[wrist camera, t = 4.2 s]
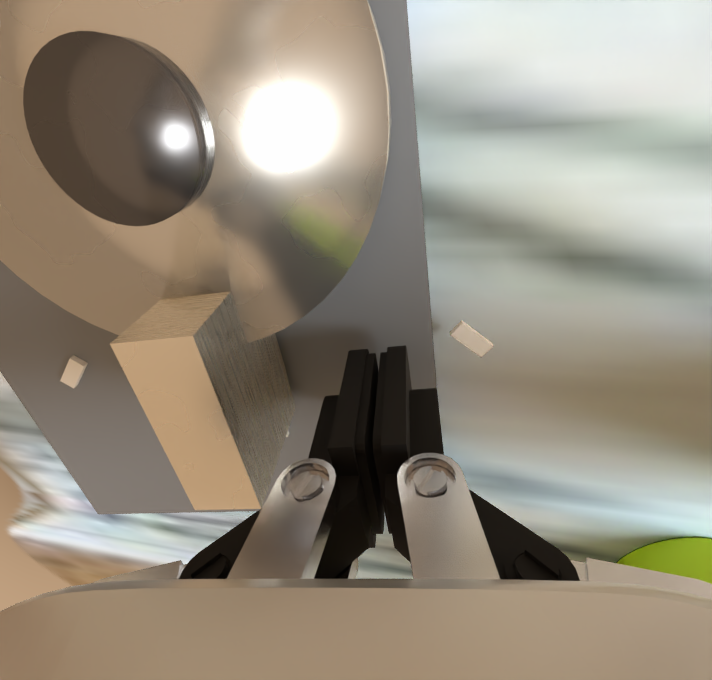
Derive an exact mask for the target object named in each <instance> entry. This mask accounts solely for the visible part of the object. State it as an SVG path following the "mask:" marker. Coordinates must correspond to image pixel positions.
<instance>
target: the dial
mask: <svg viewBox="0 0 712 680" xmlns="http://www.w3.org/2000/svg"><path fill="white" fill-rule="evenodd" d="M391 124H392V119H391V96H390V85H389V78H388V72H387V66H386V60H385V53H384V50H383V46H382V43H381V39H380V36H379V32H378V28H377V25H376V21H375V18H374V15H373V13H372V10H371V8H370V5H369V3H368V0H0V261H1V262H3V263H4V264H5V265H6V266H7V267H8V268H9V269H10V270H11V271H12V272H14V273H15V274H16V275H17V276H18V277H19V278H21V279H22V280H23V281H25V282H26V283H27V284H28V285H30V286H31V287H32V288H34V289H35V290H36V291H37V292H39V293H40V294H41V295H43V296H44V297H46V298H47V299H49V300H51V301H52V302H54V303H55V304H57V305H58V306H60V307H61V308H63V309H64V310H66V311H68V312H70V313H72V314H73V315H75V316H77V317H79V318H81V319H83V320H85V321H87V322H89V323H91V324H93V325H95V326H97V327H100V328H102V329H105V330H107V331H109V332H112V333H114V334H117V335H119V336H118V337H117V338H116V339H115V340H113V341H112V342H111V343H110V346H111V347H112V349H113V351H114V353H115V355H116V357H117V359H118V361H119V363H120V365H121V367H122V369H123V371H124V373H125V375H126V377H127V379H128V381H129V383H130V385H131V387H132V388H133V390H134V392H135V394H136V396H137V398H138V400H139V402H140V404H141V406H142V408H143V410H144V412H145V414H146V416H147V418H148V420H149V422H150V424H151V426H152V428H153V430H154V431H155V433H156V435H157V437H158V439H159V441H160V443H161V445H162V447H163V449H164V451H165V453H166V455H167V457H168V459H169V461H170V463H171V465H172V467H173V469H174V471H175V472H176V474H177V476H178V478H179V480H180V482H181V484H182V486H183V488H184V490H185V492H186V494H187V496H188V498H189V500H190V502H191V504H192V506H193V508H194V510H227V509H261V508H262V505H263V502H264V499H265V496H266V493H267V490H268V487H269V485H270V482H271V479H272V476H273V473H274V470H275V467H276V464H277V461H278V458H279V455H280V452H281V449H282V447H283V444H284V441H285V438H286V435H287V432H288V429H289V426H290V423H291V420H292V417H293V414H294V411H295V409H296V404H295V400H294V397H293V393H292V390H291V386H290V383H289V379H288V376H287V372H286V369H285V365H284V362H283V358H282V355H281V351H280V348H279V344H278V341H277V337H276V334H275V333H276V332H278V331H280V330H283V329H285V328H286V327H288V326H289V325H291V324H293V323H294V322H296V321H298V320H299V319H301V318H302V317H304V316H305V315H306V314H308V313H309V312H310V311H311V310H312V309H314V308H315V307H316V306H317V305H318V304H320V303H321V302H322V301H323V300H324V299H325V298H326V297H327V296H328V295H329V293H330V292H331V291H332V290H333V289H334V288H335V287H336V286H337V285H338V283H339V282H340V281H341V280H342V278H343V277H344V275H345V274H346V272H347V271H348V269H349V268H350V266H351V265H352V264H353V262H354V261H355V259H356V257H357V255H358V253H359V251H360V249H361V247H362V245H363V243H364V241H365V239H366V237H367V235H368V233H369V231H370V228H371V225H372V222H373V219H374V216H375V213H376V210H377V207H378V204H379V200H380V196H381V192H382V187H383V183H384V178H385V173H386V168H387V163H388V158H389V151H390V138H391Z"/></svg>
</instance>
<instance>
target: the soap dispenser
mask: <svg viewBox="0 0 712 680" xmlns="http://www.w3.org/2000/svg"><path fill="white" fill-rule="evenodd" d="M617 564H622V565H627V566H632V567H638V568H643V569H648V570H653V571H658V572H663V573H668V574H673V575H679V576H684V577H689V578H694V579H699V580H702V581H705V582H708V583H711V584H712V539H708V538H679V539H671V540H665V541H661V542H657V543H653V544H650V545H647V546H644V547H642V548H639V549H637V550H635V551H633V552H631V553H629V554H628V555H626V556H625V557H623V558H622V559H620V560H619V561H618V562H617Z"/></svg>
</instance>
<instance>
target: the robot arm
mask: <svg viewBox="0 0 712 680" xmlns="http://www.w3.org/2000/svg"><path fill="white" fill-rule="evenodd" d="M384 512H385V515H386V521H387V526H388V531H389V533H390V534H392V536H393V542H394V547H395V548H396V549H397V550H398V551H399V552H400V553H401V554H402V555H403V556H404V557H405V558H406V559H407V560H408V561H410V562H411V567H412V573H413V579H356V575H357V571H358V562H359V561H358V557H359V556H360V555H361V554H362V553H363V552H364V551H365V550H367V549H368V548H375V543H376V534H383V531H384ZM0 680H712V584H711V583H708V582H705V581H702V580H699V579H694V578H689V577H684V576H679V575H673V574H668V573H663V572H658V571H653V570H648V569H643V568H638V567H632V566H627V565H622V564H617V563H612V562H607V561H602V560H596V559H591V558H586V563H584V562H579V561H574V560H569V558H568V557H567V556H566V555H565V554H563V553H562V552H561V551H560V550H559V549H557V548H556V547H554V546H553V545H551V544H550V543H548V542H547V541H545V540H544V539H542V538H541V537H539V536H538V535H536V534H535V533H534V532H532V531H531V530H529V529H528V528H526V527H525V526H523V525H522V524H520V523H519V522H517V521H516V520H514V519H513V518H511V517H510V516H508V515H507V514H505V513H504V512H502V511H501V510H499V509H498V508H496V507H495V506H493V505H492V504H490V503H489V502H487V501H486V500H484V499H483V498H481V497H480V496H478V495H477V494H475V493H474V492H472V491H471V490H469V489H468V486H467V483H466V480H465V478H464V475H463V472H462V470H461V468H460V467H459V465H458V464H457V463H456V462H455V461H454V460H453V459H452V458H449V457H447V456H445V455H444V453H443V443H442V434H441V425H440V415H439V406H438V396H437V388H427V389H413V390H412V386H411V378H410V370H409V362H408V353H407V347H406V345H404V346H393V347H387V352H381V353H380V363H379V370H378V364H377V358H376V354H375V353H370V354H369V351H368V349H360V350H350V351H349V352H348V356H347V361H346V365H345V370H344V375H343V379H342V384H341V389H340V393H339V395H330V396H325V397H324V400H323V403H322V407H321V411H320V415H319V418H318V422H317V426H316V430H315V434H314V438H313V441H312V445H311V449H310V453H309V457H308V459H304V460H300V461H297V462H295V463H293V464H291V465H289V466H288V467H287V468H286V469H285V470H283V471H282V473H281V474H280V475H279V477H278V478H277V480H276V482H275V484H274V486H273V488H272V490H271V492H270V494H269V496H268V498H267V500H266V502H265V504H264V506H263V508H261V509H260V510H259V511H257V512H256V513H254V514H253V515H252V516H250V517H249V518H247V519H246V520H244V521H243V522H242V523H240V524H239V525H237V526H236V527H235V528H233V529H232V530H230V531H229V532H227V533H226V534H225V535H223V536H222V537H220V538H219V539H218V540H216V541H215V542H213V543H212V544H210V545H209V546H208V547H206V548H205V549H203V550H202V551H201V552H199V553H198V554H197V555H196V556H195V557H193V558H192V559H191V560H190V561H189V563H188V564H185V565H183V563H182V561H181V560H180V561H176V562H172V563H168V564H163V565H159V566H155V567H151V568H147V569H142V570H138V571H134V572H130V573H125V574H121V575H117V576H113V577H108V578H104V579H101V580H99V581H96V582H94V583H91V584H85V585H79V586H72V587H68V588H64V589H60V590H56V591H52V592H48V593H45V594H42V595H39V596H36V597H33V598H30V599H28V600H25V601H23V602H20V603H17V604H15V605H13V606H11V607H8V608H7V609H4V610H2V611H0Z"/></svg>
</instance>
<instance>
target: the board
mask: <svg viewBox="0 0 712 680" xmlns="http://www.w3.org/2000/svg"><path fill="white" fill-rule="evenodd" d="M368 3H369V5H370V8H371V10H372V13H373V15H374V18H375V21H376V25H377V28H378V32H379V36H380V39H381V43H382V46H383V50H384V53H385V60H386V66H387V72H388V78H389V85H390V96H391V119H392V124H391V138H390V151H389V158H388V163H387V168H386V173H385V178H384V183H383V187H382V192H381V196H380V200H379V204H378V207H377V210H376V213H375V216H374V219H373V222H372V225H371V228H370V231H369V233H368V235H367V237H366V239H365V241H364V243H363V245H362V247H361V249H360V251H359V253H358V255H357V257H356V259H355V261H354V262H353V264H352V265H351V266H350V268H349V269H348V271H347V272H346V274H345V275H344V277H343V278H342V280H341V281H340V282H339V283H338V285H337V286H336V287H335V288H334V289H333V290H332V291H331V292H330V293H329V295H328V296H327V297H326V298H325V299H324V300H323V301H322V302H321V303H320V304H318V305H317V306H316V307H315V308H314V309H312V310H311V311H310V312H309V313H308V314H306V315H305V316H304V317H302V318H301V319H299V320H298V321H296V322H294V323H293V324H291V325H289V326H288V327H286V328H285V329H283V330H280V331H278V332H276V333H275V334H276V337H277V341H278V344H279V348H280V351H281V355H282V358H283V362H284V365H285V369H286V372H287V376H288V379H289V383H290V386H291V390H292V393H293V397H294V400H295V404H296V409H295V411H294V414H293V417H292V420H291V423H290V426H289V429H288V432H287V435H286V438H285V441H284V444H283V447H282V449H281V452H280V455H279V458H278V461H277V464H276V467H275V470H274V473H273V476H272V479H271V482H270V485H269V487H268V490H267V493H266V496H265V499H264V502H263V505H262V508H263V506H264V504H265V502H266V500H267V498H268V496H269V494H270V492H271V490H272V488H273V486H274V484H275V482H276V480H277V478H278V477H279V475H280V474H281V473H282V471H283V470H285V469H286V468H287V467H288V466H289V465H291V464H293V463H295V462H297V461H300V460H304V459H308V457H309V453H310V449H311V445H312V441H313V438H314V434H315V430H316V426H317V422H318V418H319V415H320V411H321V407H322V403H323V400H324V397H325V396H330V395H339V393H340V389H341V384H342V379H343V375H344V370H345V365H346V361H347V356H348V352H349V351H350V350H360V349H368V351H369V354H370V353H375V354H376V358H377V364H378V370H379V363H380V353H381V352H387V347H393V346H404V345H406V347H407V353H408V362H409V370H410V378H411V386H412V390H413V389H427V388H437V386H436V373H435V360H434V347H433V335H432V322H431V309H430V296H429V283H428V271H427V258H426V245H425V232H424V219H423V207H422V194H421V181H420V168H419V155H418V143H417V130H416V117H415V104H414V91H413V79H412V66H411V53H410V40H409V27H408V15H407V2H406V0H368ZM450 335H451V336H452V337H453V338H455V339H456V340H457V341H459V342H460V343H462V344H463V345H464V346H466V347H467V348H468V349H470V350H471V351H473V352H474V353H475V354H477V355H478V356H479V357H482V356H484V355H485V354H486V353H487V352H488V351H489V350H490V349H491V348H492V347H494V346H493V344H492V342H490V341H489V340H488V339H486V338H485V337H484V336H482V335H481V334H480V333H478V332H477V331H476V330H474V329H473V328H472V327H470V326H469V325H468V324H466V323H465V322H464V321H462V320H461V321H460V322H459V323H458V324H457V325H456V326H455V327H454V328H453V329H452V330H451V331H450ZM118 336H119V335H117V334H114V333H112V332H109V331H107V330H105V329H102V328H100V327H97V326H95V325H93V324H91V323H89V322H87V321H85V320H83V319H81V318H79V317H77V316H75V315H73V314H72V313H70V312H68V311H66V310H64V309H63V308H61V307H60V306H58V305H57V304H55V303H54V302H52V301H51V300H49V299H47V298H46V297H44V296H43V295H41V294H40V293H39V292H37V291H36V290H35V289H34V288H32V287H31V286H30V285H28V284H27V283H26V282H25V281H23V280H22V279H21V278H19V277H18V276H17V275H16V274H15V273H14V272H12V271H11V270H10V269H9V268H8V267H7V266H6V265H5V264H4V263H3V262H1V261H0V371H1V373H2V374H3V376H4V377H5V379H6V380H7V382H8V383H9V384H10V386H11V387H12V389H13V390H14V392H15V393H16V395H17V396H18V398H19V399H20V401H21V402H22V404H23V405H24V406H25V408H26V409H27V411H28V412H29V414H30V415H31V417H32V418H33V420H34V421H35V423H36V424H37V425H38V427H39V428H40V430H41V431H42V433H43V434H44V436H45V437H46V439H47V440H48V442H49V443H50V444H51V446H52V447H53V449H54V450H55V452H56V453H57V455H58V456H59V458H60V459H61V461H62V462H63V463H64V465H65V466H66V468H67V469H68V471H69V472H70V474H71V475H72V477H73V478H74V480H75V481H76V483H77V484H78V485H79V487H80V488H81V490H82V491H83V493H84V494H85V496H86V497H87V499H88V500H89V502H90V503H91V504H92V506H93V507H94V509H95V510H96V512H97V513H98V514H131V513H179V512H228V511H259V510H260V509H227V510H194V508H193V506H192V504H191V502H190V500H189V498H188V496H187V494H186V492H185V490H184V488H183V486H182V484H181V482H180V480H179V478H178V476H177V474H176V472H175V471H174V469H173V467H172V465H171V463H170V461H169V459H168V457H167V455H166V453H165V451H164V449H163V447H162V445H161V443H160V441H159V439H158V437H157V435H156V433H155V431H154V430H153V428H152V426H151V424H150V422H149V420H148V418H147V416H146V414H145V412H144V410H143V408H142V406H141V404H140V402H139V400H138V398H137V396H136V394H135V392H134V390H133V388H132V387H131V385H130V383H129V381H128V379H127V377H126V375H125V373H124V371H123V369H122V367H121V365H120V363H119V361H118V359H117V357H116V355H115V353H114V351H113V349H112V347H111V346H110V343H111V342H112V341H113V340H115V339H116V338H117V337H118Z"/></svg>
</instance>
